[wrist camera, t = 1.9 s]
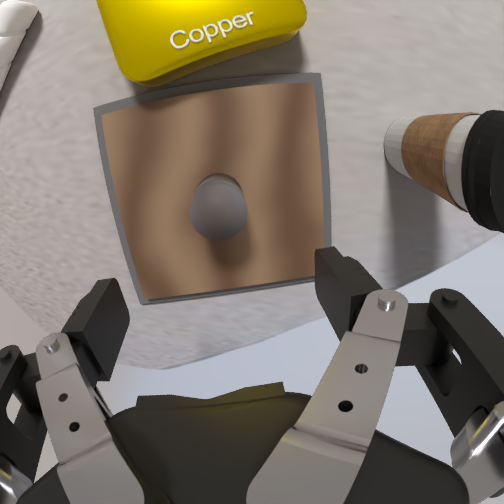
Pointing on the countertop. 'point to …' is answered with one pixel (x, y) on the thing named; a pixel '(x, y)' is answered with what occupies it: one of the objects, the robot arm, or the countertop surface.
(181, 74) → the element tile
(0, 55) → the unicorn horn
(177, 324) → the countertop surface
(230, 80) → the rubber mat
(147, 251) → the walnut lid
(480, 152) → the coffee cup
